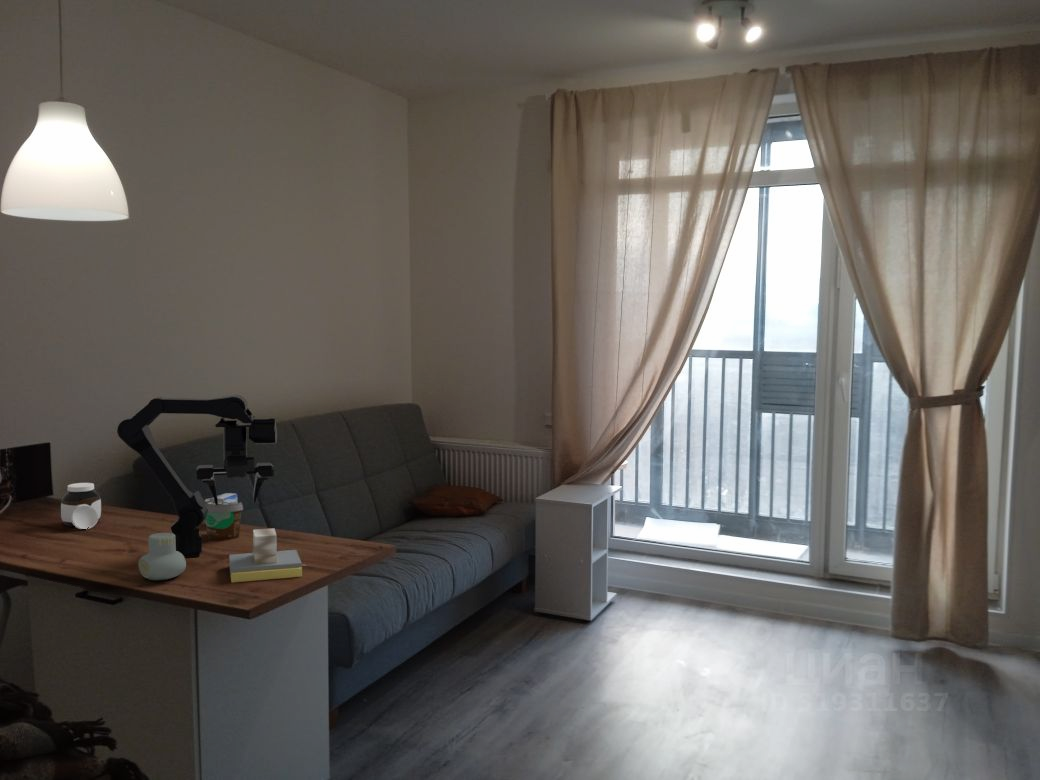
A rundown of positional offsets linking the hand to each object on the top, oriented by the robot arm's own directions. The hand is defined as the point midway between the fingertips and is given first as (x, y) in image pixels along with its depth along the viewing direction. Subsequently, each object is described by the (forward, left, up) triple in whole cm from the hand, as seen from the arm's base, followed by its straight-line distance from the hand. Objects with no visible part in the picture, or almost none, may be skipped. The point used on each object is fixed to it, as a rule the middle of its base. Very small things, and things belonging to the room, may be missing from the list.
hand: (235, 503), depth 217 cm
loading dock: (+6, -18, -13) cm, 23 cm away
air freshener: (-17, -16, -13) cm, 27 cm away
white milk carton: (+6, -18, -10) cm, 21 cm away
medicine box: (-2, +32, -13) cm, 35 cm away
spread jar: (-40, +41, -13) cm, 59 cm away
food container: (-4, +17, -13) cm, 22 cm away
